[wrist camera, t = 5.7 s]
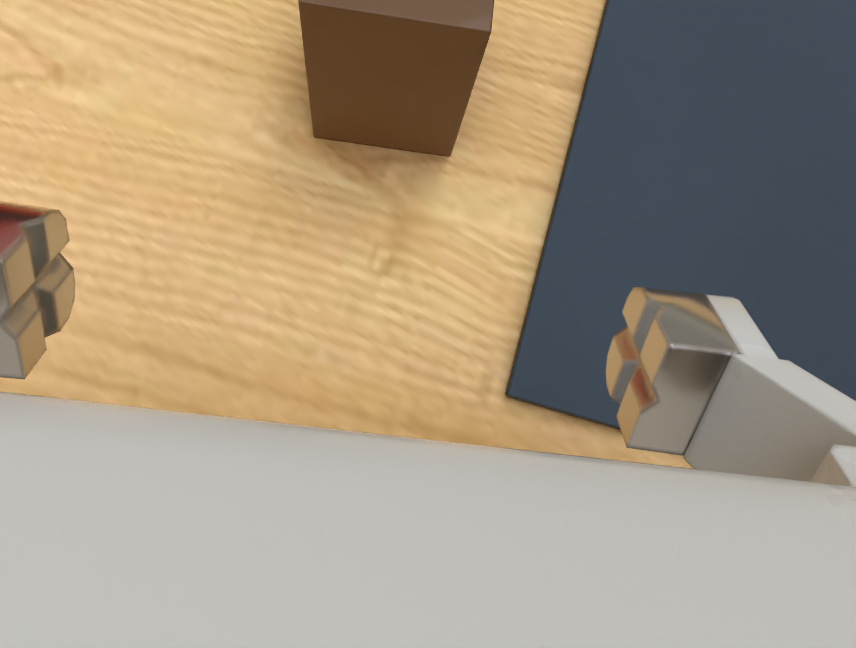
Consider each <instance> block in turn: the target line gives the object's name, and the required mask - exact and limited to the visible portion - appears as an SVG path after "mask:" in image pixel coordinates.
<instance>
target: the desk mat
mask: <svg viewBox="0 0 856 648" xmlns="http://www.w3.org/2000/svg"><path fill="white" fill-rule="evenodd" d="M635 287H645V288H655V289H664V290H673V291H683V292H692V293H701V294H705V295H716V296H728V297H734V298H736V299H738V300H740V302H741V303H742V305H743V306H744V308H745V309H746V311H747V312H748V314H749V315H750V317H751V318H752V320H753V321H754V323H755V324H756V326H757V327H758V329H759V330H760V332H761V333H762V335H763V336H764V338H765V339H766V341H767V342H768V344H769V345H770V347H771V348H772V350H773V351H774V353H775V354H776V356H777V357H778V359H781V360H788V361H791V362H792V363H794V364H795V365H797V366H799V367H800V368H802V369H804V370H805V371H807V372H809V373H810V374H812V375H814V376H815V377H817V378H818V379H820V380H822V381H823V382H825V383H827V384H828V385H830V386H832V387H833V388H835V389H837V390H838V391H840V392H841V393H843V394H845V395H846V396H848V397H850V398H851V399H853V400H855V401H856V0H607V1H606V5H605V9H604V13H603V17H602V21H601V25H600V28H599V32H598V36H597V40H596V44H595V48H594V52H593V56H592V60H591V64H590V67H589V71H588V75H587V79H586V83H585V87H584V91H583V95H582V99H581V102H580V106H579V110H578V114H577V118H576V122H575V126H574V130H573V134H572V138H571V141H570V145H569V149H568V153H567V157H566V161H565V165H564V169H563V173H562V177H561V180H560V184H559V188H558V192H557V196H556V200H555V204H554V208H553V212H552V215H551V219H550V223H549V227H548V231H547V235H546V239H545V243H544V247H543V251H542V254H541V258H540V262H539V266H538V270H537V274H536V278H535V282H534V286H533V289H532V293H531V297H530V301H529V305H528V309H527V313H526V317H525V321H524V325H523V328H522V332H521V336H520V340H519V344H518V348H517V352H516V356H515V360H514V364H513V367H512V371H511V375H510V379H509V383H508V387H507V391H506V396H507V397H511V398H514V399H517V400H521V401H524V402H528V403H531V404H535V405H538V406H541V407H545V408H548V409H552V410H555V411H559V412H562V413H565V414H569V415H572V416H576V417H579V418H582V419H586V420H589V421H593V422H596V423H600V424H603V425H606V426H610V427H613V428H617V429H620V426H619V423H618V420H617V417H616V416H617V413H618V410H619V408H620V404H619V403H617V402H616V401H615V400H614V399H613V398H612V397H610V395H609V391H608V388H607V384H606V373H605V372H606V363H607V355H608V352H609V348H610V345H611V342H612V339H613V336H614V335H616V334H617V333H618V332H620V331H621V330H622V329H623V328H625V327H626V326H627V323H626V320H625V318H624V315H623V313H622V311H623V308H624V305H625V302H626V300H627V297H628V295H629V294H630V292H631V291H632V289H633V288H635ZM620 430H621V429H620Z"/></svg>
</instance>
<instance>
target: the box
mask: <svg viewBox="0 0 856 648" xmlns="http://www.w3.org/2000/svg"><path fill="white" fill-rule="evenodd" d="M298 2H299V11H300V20H301V29H302V38H303V46H304V55H305V64H306V73H307V82H308V91H309V99H310V108H311V117H312V126H313V135H314V137H318V138H325V139H332V140H339V141H346V142H353V143H360V144H367V145H374V146H381V147H388V148H395V149H402V150H409V151H416V152H423V153H429V154H436V155H443V156H451V153H452V150H453V147H454V144H455V141H456V138H457V135H458V132H459V128H460V125H461V122H462V119H463V116H464V113H465V110H466V107H467V104H468V101H469V98H470V95H471V92H472V89H473V86H474V83H475V79H476V76H477V73H478V70H479V67H480V64H481V61H482V58H483V55H484V52H485V49H486V46H487V43H488V40H489V37H490V33H491V27H492V17H493V7H494V0H298Z"/></svg>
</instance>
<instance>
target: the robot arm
mask: <svg viewBox="0 0 856 648" xmlns="http://www.w3.org/2000/svg"><path fill="white" fill-rule="evenodd" d="M68 242H69V235H68V229H67V223H66V218H65V217H64V216H63V215H62V213H61V212H60V211H59V210H55V209H49V208H42V207H35V206H29V205H22V204H15V203H9V202H2V201H0V377H4V378H16V379H25V378H26V377H27V375H28V374H29V373H30V371H31V370H32V369H33V367H34V366H35V365H36V363H37V362H38V360H39V359H40V358H41V356H42V355H43V354H44V352H45V351H46V344H45V337H47V336H50V335H52V334H54V333H56V332H59V331H60V330H61V329H62V328H63V326H64V325H65V323H66V322H67V320H68V319H69V316H70V313H71V310H72V306H73V303H74V298H75V278H74V270H73V267H72V266H71V265H70V264H69V263H68V262H67V260H66V259H65V258H64V257H63V256H62V255H61V253H60V252H61V251H62V249H63V248H64V247H65V246H66V244H67V243H68ZM622 313H623V315H624V318H625V320H626V323H627V326H626V327H625V328H623V329H622V330H621V331H620V332H618V333H617V334H616V335H614V336H613V339H612V342H611V345H610V348H609V352H608V355H607V363H606V372H605V373H606V384H607V388H608V391H609V395H610V397H612V398H613V399H614V400H615V401H616V402H617V403H619V404H620V408H619V410H618V413H617V416H616V417H617V420H618V423H619V426H620V429H621V432H622V435H623V438H624V441H625V444H626V447H627V448H633V449H640V450H647V451H655V452H662V453H669V454H676V455H683V456H684V457H683V458H684V459H685V460H686V461H687V462H688V463H689V464H690V465H691V466H692V467H693V469H690V468H681V467H672V466H663V465H654V464H645V463H636V462H627V461H618V460H609V459H600V458H591V457H582V456H573V455H564V454H555V453H546V452H537V451H528V450H519V449H510V448H501V447H492V446H483V445H474V444H465V443H456V442H447V441H438V440H429V439H420V438H411V437H402V436H394V435H385V434H376V433H367V432H358V431H349V430H340V429H331V428H322V427H313V426H304V425H295V424H286V423H277V422H268V421H259V420H250V419H241V418H232V417H223V416H214V415H205V414H196V413H187V412H178V411H169V410H160V409H152V408H143V407H134V406H125V405H116V404H107V403H98V402H89V401H80V400H71V399H62V398H53V397H44V396H35V395H26V394H17V393H8V392H0V648H856V401H855V400H853V399H851V398H850V397H848V396H846V395H845V394H843V393H841V392H840V391H838V390H837V389H835V388H833V387H832V386H830V385H828V384H827V383H825V382H823V381H822V380H820V379H818V378H817V377H815V376H814V375H812V374H810V373H809V372H807V371H805V370H804V369H802V368H800V367H799V366H797V365H795V364H794V363H792V362H791V361H788V360H781V359H778V357H777V356H776V354H775V353H774V351H773V350H772V348H771V347H770V345H769V344H768V342H767V341H766V339H765V338H764V336H763V335H762V333H761V332H760V330H759V329H758V327H757V326H756V324H755V323H754V321H753V320H752V318H751V317H750V315H749V314H748V312H747V311H746V309H745V308H744V306H743V305H742V303H741V302H740V300H738V299H736V298H734V297H728V296H716V295H705V294H701V293H692V292H683V291H673V290H664V289H655V288H645V287H635V288H633V289H632V291H631V292H630V294H629V295H628V297H627V300H626V302H625V305H624V308H623V311H622Z"/></svg>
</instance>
